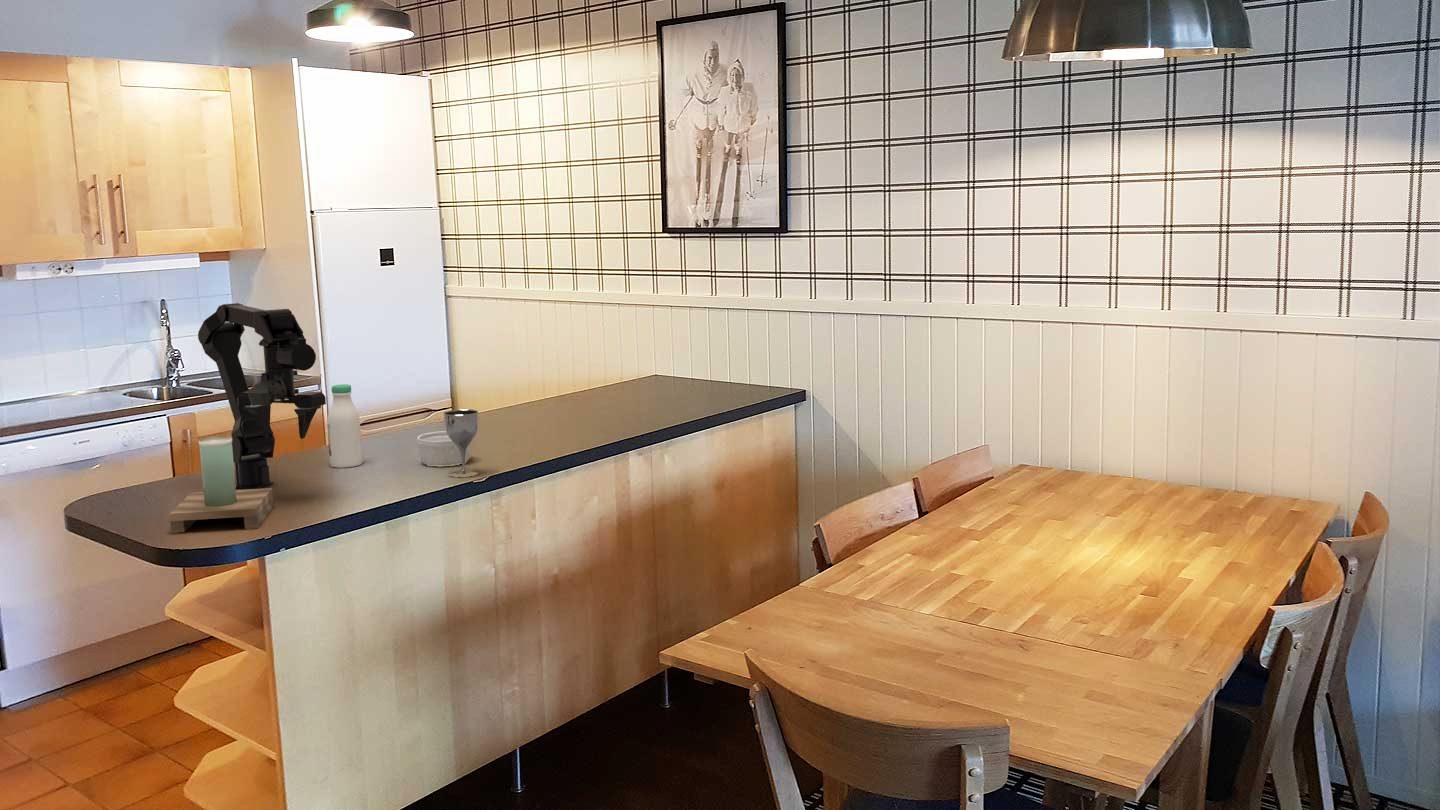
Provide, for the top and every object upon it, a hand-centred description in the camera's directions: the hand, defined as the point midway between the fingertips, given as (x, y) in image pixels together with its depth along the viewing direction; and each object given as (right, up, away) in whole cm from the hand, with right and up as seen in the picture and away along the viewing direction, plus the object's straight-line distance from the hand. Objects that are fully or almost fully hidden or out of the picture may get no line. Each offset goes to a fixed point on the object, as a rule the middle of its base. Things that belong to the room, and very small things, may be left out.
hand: (284, 437), depth 255 cm
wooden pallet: (-6, -16, -18) cm, 25 cm away
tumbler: (-5, -13, -21) cm, 25 cm away
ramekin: (+27, -8, +35) cm, 45 cm away
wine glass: (+35, -10, +21) cm, 42 cm away
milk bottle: (+3, -8, +33) cm, 34 cm away
